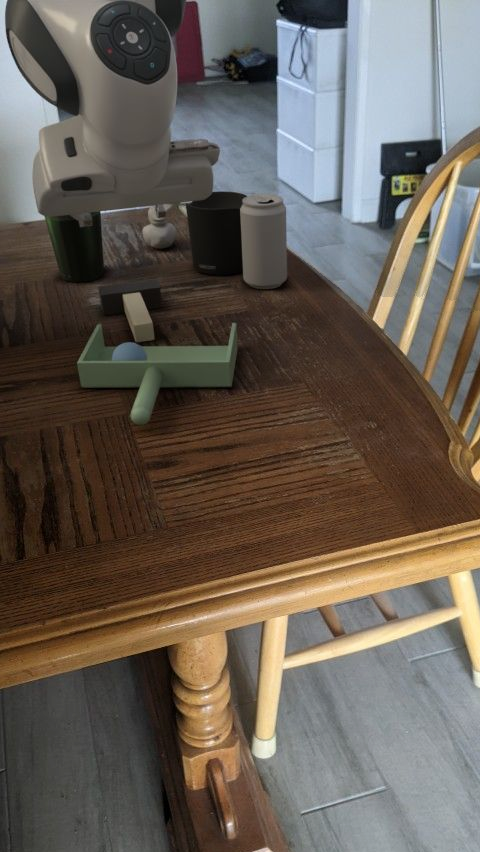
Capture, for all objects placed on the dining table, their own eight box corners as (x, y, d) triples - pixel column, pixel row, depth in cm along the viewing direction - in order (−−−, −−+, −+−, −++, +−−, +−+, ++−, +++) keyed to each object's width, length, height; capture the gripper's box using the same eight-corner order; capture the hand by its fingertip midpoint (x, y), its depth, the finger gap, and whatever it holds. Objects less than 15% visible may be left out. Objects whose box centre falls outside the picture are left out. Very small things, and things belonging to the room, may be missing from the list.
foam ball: (134, 340, 91) (114, 368, 92) (120, 331, 87) (99, 360, 88) (159, 359, 90) (139, 387, 91) (145, 351, 86) (124, 380, 87)
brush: (101, 307, 108) (114, 348, 98) (98, 286, 106) (110, 326, 96) (158, 299, 110) (176, 339, 100) (156, 279, 108) (174, 317, 98)
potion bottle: (110, 264, 122) (93, 141, 112) (108, 282, 116) (89, 154, 105) (58, 267, 122) (35, 144, 111) (52, 286, 115) (27, 157, 105)
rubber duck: (147, 254, 126) (142, 203, 121) (141, 242, 131) (135, 192, 126) (181, 250, 127) (176, 199, 122) (172, 238, 132) (168, 189, 127)
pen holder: (182, 262, 122) (176, 197, 116) (236, 252, 125) (233, 188, 120) (205, 281, 115) (200, 213, 109) (262, 270, 118) (260, 202, 113)
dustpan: (101, 349, 97) (97, 324, 95) (237, 348, 96) (236, 322, 94) (59, 436, 80) (52, 407, 78) (223, 436, 79) (221, 407, 78)
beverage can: (258, 294, 111) (255, 208, 104) (235, 280, 115) (231, 197, 108) (295, 284, 113) (295, 200, 106) (272, 271, 118) (270, 189, 111)
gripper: (215, 113, 85) (200, 184, 98) (23, 129, 80) (34, 202, 93) (228, 166, 84) (211, 230, 97) (34, 185, 79) (44, 250, 92)
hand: (123, 216), depth 95 cm, fingers open, 8 cm apart
